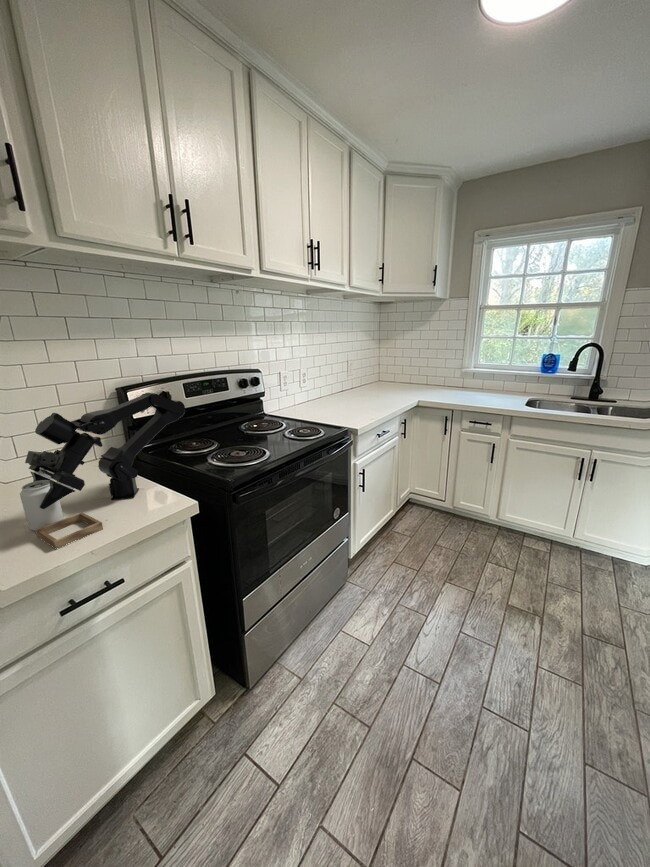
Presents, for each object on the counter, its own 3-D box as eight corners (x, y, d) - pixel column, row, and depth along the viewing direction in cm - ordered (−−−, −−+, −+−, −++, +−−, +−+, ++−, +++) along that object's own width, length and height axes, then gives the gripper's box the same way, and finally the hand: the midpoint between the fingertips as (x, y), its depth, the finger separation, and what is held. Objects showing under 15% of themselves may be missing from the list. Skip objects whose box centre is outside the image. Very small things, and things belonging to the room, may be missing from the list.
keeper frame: (83, 518, 97) (81, 512, 97) (103, 529, 92) (101, 522, 91) (37, 536, 88) (35, 529, 88) (56, 549, 83) (54, 542, 82)
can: (59, 515, 99) (50, 476, 96) (68, 523, 94) (58, 482, 91) (26, 526, 93) (14, 485, 90) (33, 536, 89) (21, 492, 86)
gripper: (29, 433, 96) (-13, 485, 90) (61, 443, 86) (16, 502, 80) (68, 452, 104) (32, 500, 98) (100, 463, 95) (63, 517, 89)
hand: (35, 504), depth 91 cm, fingers closed on can, 7 cm apart
